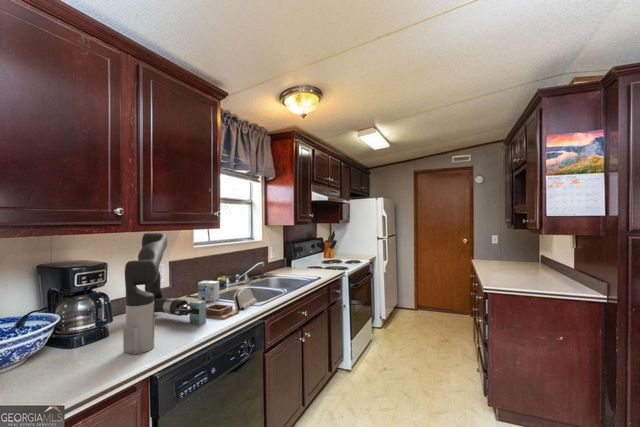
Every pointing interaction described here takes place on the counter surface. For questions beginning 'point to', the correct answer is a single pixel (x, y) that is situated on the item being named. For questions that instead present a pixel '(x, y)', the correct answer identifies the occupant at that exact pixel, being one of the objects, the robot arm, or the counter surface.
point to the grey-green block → (201, 316)
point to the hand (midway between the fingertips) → (202, 310)
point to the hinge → (244, 299)
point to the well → (220, 311)
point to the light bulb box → (208, 290)
